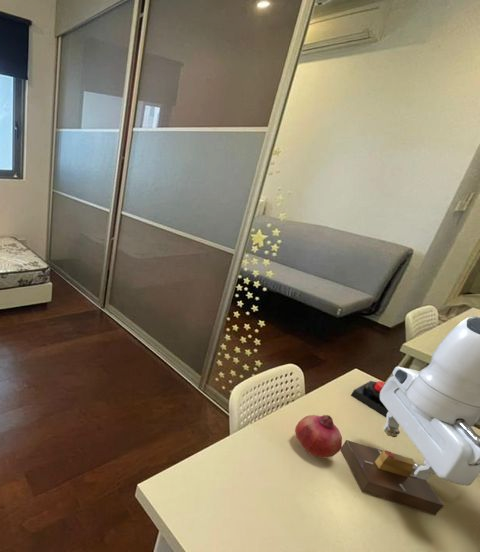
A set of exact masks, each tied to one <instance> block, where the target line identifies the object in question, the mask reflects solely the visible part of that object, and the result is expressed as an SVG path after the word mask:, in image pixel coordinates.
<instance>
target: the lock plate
mask: <svg viewBox="0 0 480 552" xmlns="http://www.w3.org/2000/svg"><path fill="white" fill-rule="evenodd" d="M383 450H384V449H380V448H376V447H373V446H369V445H366V444H362V443H358V442H355V441H352V440H348V439H346V440H345V441H344V442H343V443H342V447H341V449H340V451H341V453H342V455H343V457H344V459H345V461H346V463H347V465H348V467H349V469H350V471H351V473H352V475H353V477H354V479H355V481H356V483H357V485H358V488H359V489H360V490H361V492H362V493H365V494H368V495H371V496H374V497H377V498H380V499H384V500H386V501H388V502H389V501H390V502H393V503H396V504H399V505H401V506H405V507H408V508H411V509H414V510H418V511H421V512H424V513H427V514H430V515H433V516H436V515H437V514H438V513H440V511H441V510H442V509H443V508H444V507H445V504H444V503H443V501H441V499H440V498H439V496H438V495H437V494H436V492H435V490H434V489H433V488H432V486H431V485H430V484H429V482H428V481H427V479H425V480H423V479H420V478H417V477H416V476H415V475H414V473H413V472H412V473H411V474H410V476H409V477H405V476H402V475H398V474H395V473H392V472H388V471H385V470H382V469H379V468H378V466H377V465H376V463H375V461H376V460H377V458H378V457H379V455H380V454H381V453H382V451H383Z"/></svg>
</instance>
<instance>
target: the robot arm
mask: <svg viewBox="0 0 480 552" xmlns="http://www.w3.org/2000/svg"><path fill="white" fill-rule="evenodd" d="M384 383H385V385H384V386H383V388H382V390H381V391H380V400H381V402H382V403H383V404H384V406H385V407H386V408H387V410H388V413H387V417H385V419H386V420H385V425H384V427H382V431H384V433H385V435H386V436H388V437H392V438H397V437H398V436H399V435H400V433H401V431H400V430H399V427H400V428H401V429H402V431H403V433H405V435H406V436H407V437H408V439H409V440H410V441H411V443H412V444H413V445H414V447H415V448H416V449H417V450H418V452H419V453H420V454H421V455H422V457H423V458H424V460H423V464H424V465H420V464H418V463H416V464H414V465H413V467H411V470H412V472H413V473H414V475H415V476H416V477H417V478H420V479H423V480H425V479H426V480H428V479H429V478H430V477H431V475H432V476H433V475H436V476H437V477H438V478H439V479H440V480H443V481H446V482H449V483H452V484H456V485H460V486H466V487H467V486H470V485H472V484H473V483H474V482H475V480H476V479H477V478H478V476H479V475H480V435H479V434H478V433H477V432H475V430H474V429H473V426H475V425H476V424H477V422H478V421H479V420H480V316H470V317H466V318H465V319H464V320H461V322H459V323H458V324H457V325H455V327H453V329H452V330H451V331H449V332H448V334H446V336H445V337H444V338H443V339H442V340H441V341H440V343H439V344H438V345H437V346H436V348H435V349H434V351H433V352H432V354H431V359H430V363H429V364H428V365H426V366H425V367H424V368H422V369H421V370H416V369H412V368H407V367H402V366H395V367H394V368H393V370H392V376H390V377H389V378H388V379H387V381H386V382H384Z"/></svg>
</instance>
